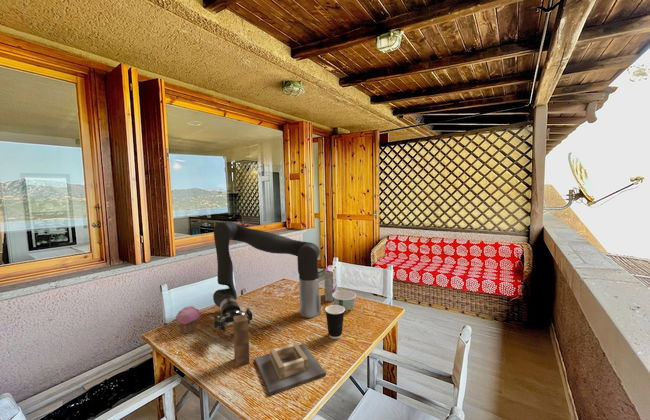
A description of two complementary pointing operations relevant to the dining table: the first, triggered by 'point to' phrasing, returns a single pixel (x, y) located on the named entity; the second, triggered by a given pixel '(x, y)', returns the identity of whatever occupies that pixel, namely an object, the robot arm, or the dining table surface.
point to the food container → (344, 299)
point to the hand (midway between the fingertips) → (236, 325)
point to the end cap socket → (288, 367)
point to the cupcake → (188, 319)
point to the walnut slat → (241, 340)
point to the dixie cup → (335, 320)
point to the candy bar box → (330, 282)
